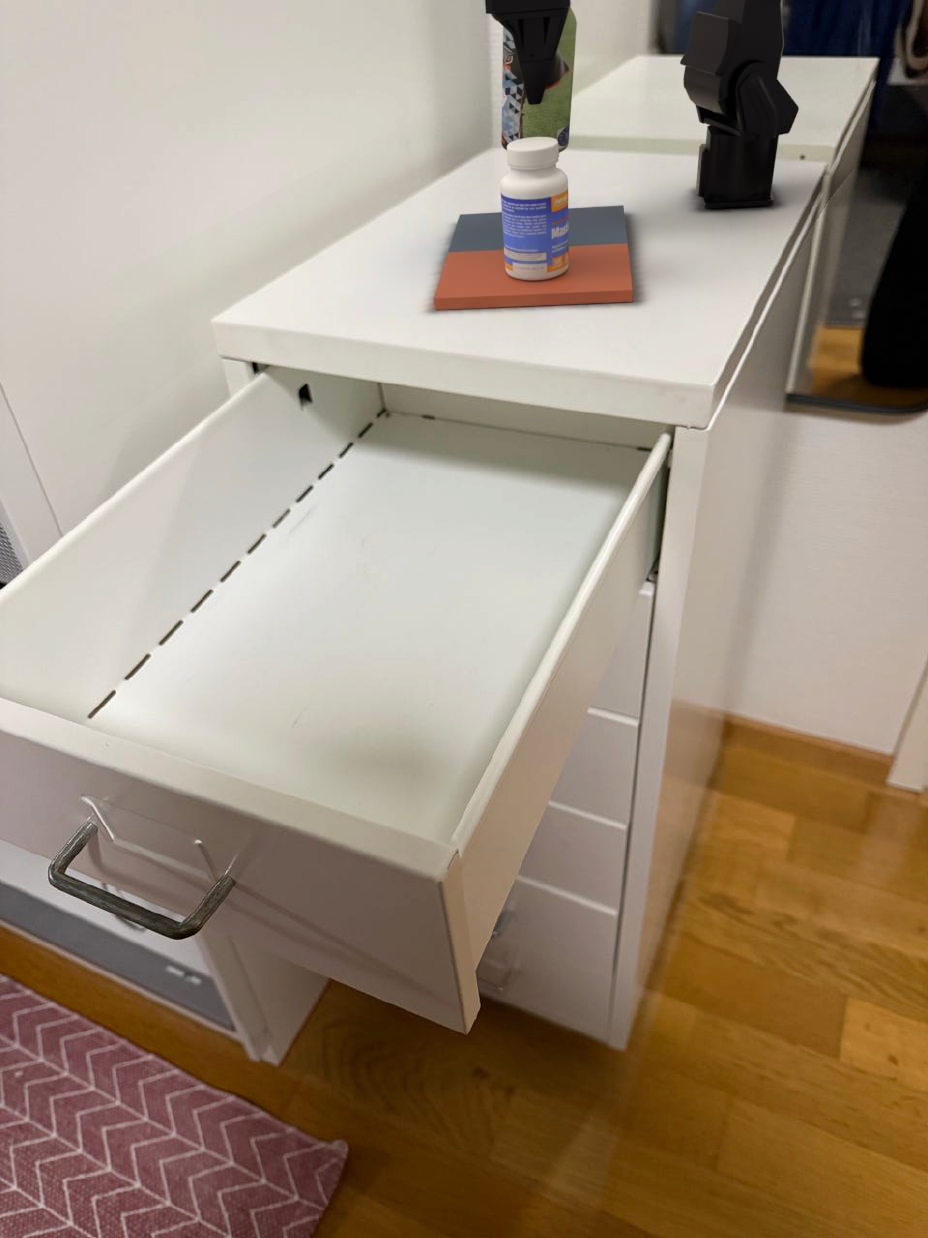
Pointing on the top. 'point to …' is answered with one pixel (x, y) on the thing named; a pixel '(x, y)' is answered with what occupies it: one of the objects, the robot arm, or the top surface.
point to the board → (588, 279)
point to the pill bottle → (535, 210)
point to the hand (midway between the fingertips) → (536, 96)
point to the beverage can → (557, 97)
